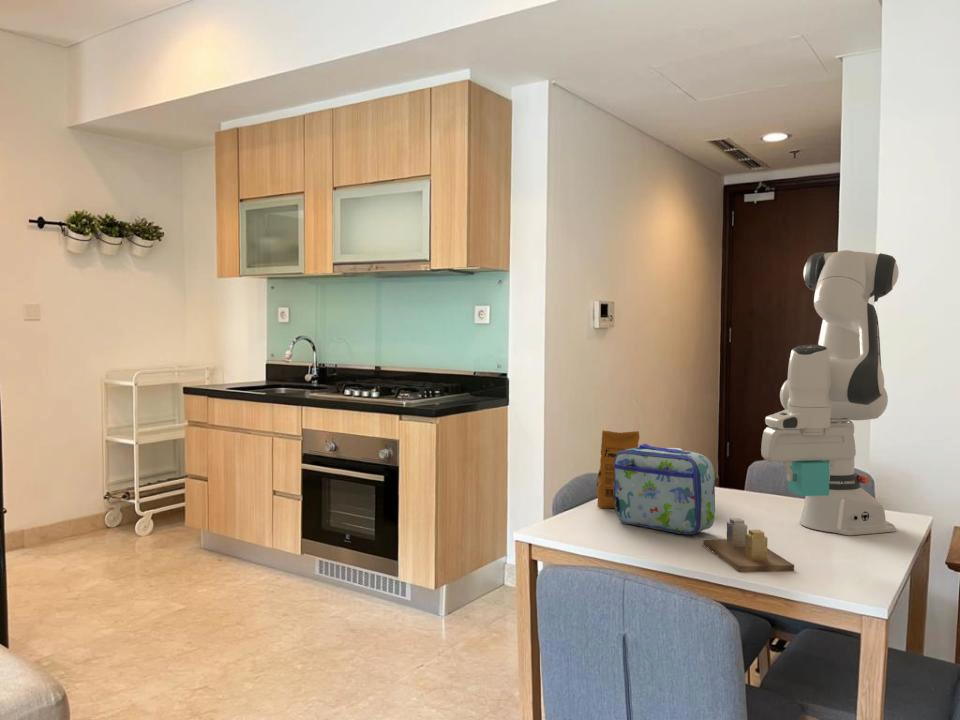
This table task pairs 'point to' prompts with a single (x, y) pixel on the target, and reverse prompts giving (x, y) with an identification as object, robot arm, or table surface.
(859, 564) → the table surface
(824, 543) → the table surface
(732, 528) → the steel post
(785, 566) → the walnut board
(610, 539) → the table surface
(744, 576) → the table surface
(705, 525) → the lunch box
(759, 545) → the brass post
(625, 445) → the coffee package
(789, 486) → the matte teal cube
